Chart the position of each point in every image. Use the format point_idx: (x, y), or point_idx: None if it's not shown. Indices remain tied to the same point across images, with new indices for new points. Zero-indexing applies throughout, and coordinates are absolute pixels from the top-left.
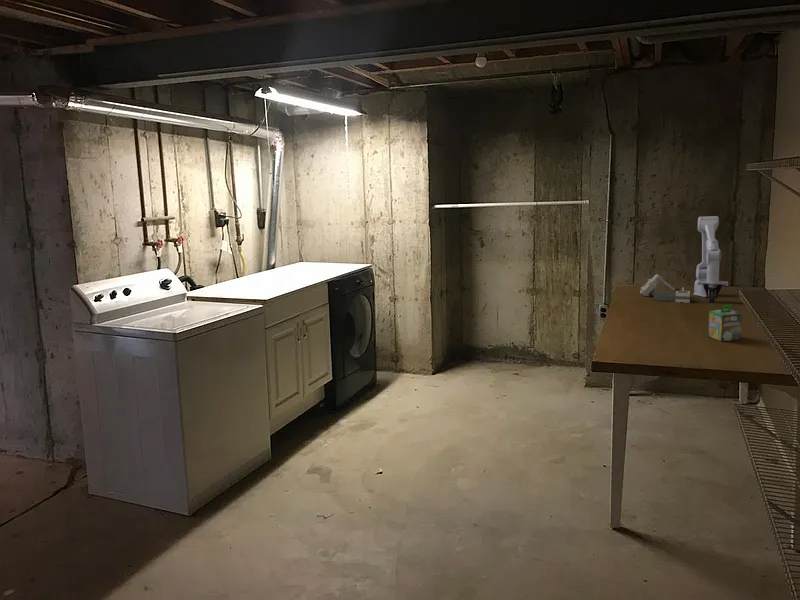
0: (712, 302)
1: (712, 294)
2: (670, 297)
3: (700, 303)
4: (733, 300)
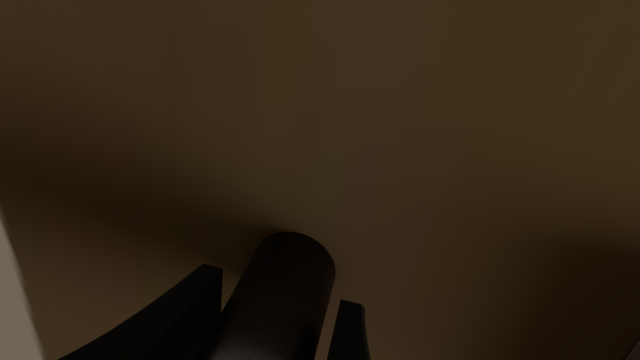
0: (289, 233)
1: (247, 340)
2: None
3: (511, 186)
4: (38, 319)
